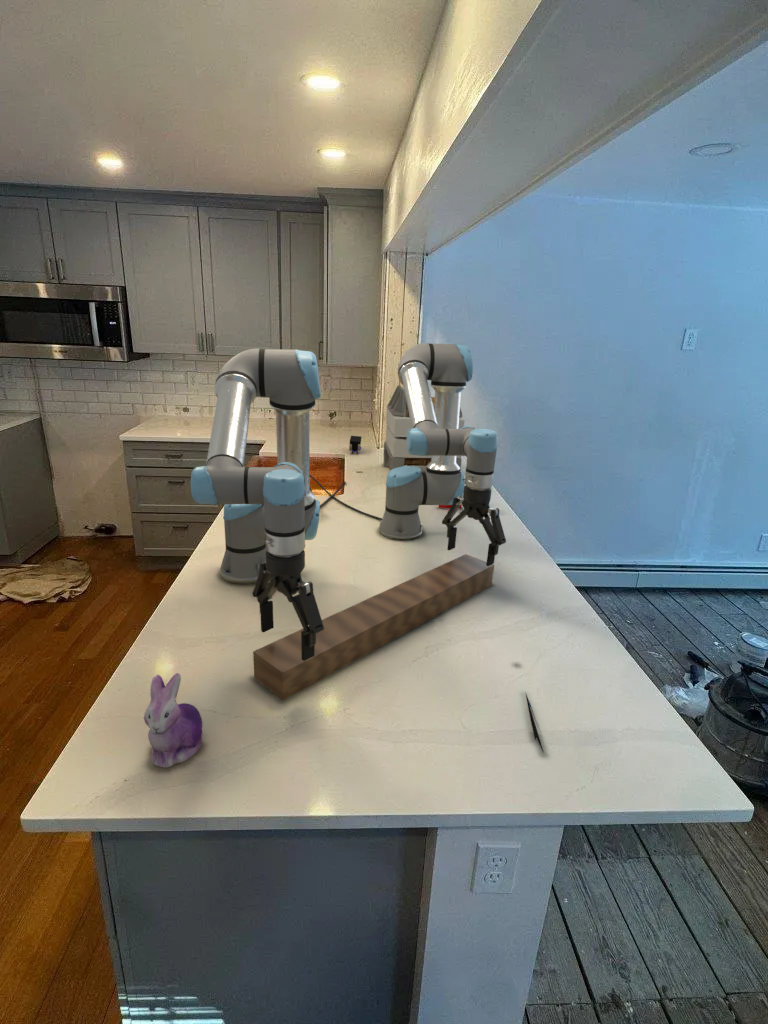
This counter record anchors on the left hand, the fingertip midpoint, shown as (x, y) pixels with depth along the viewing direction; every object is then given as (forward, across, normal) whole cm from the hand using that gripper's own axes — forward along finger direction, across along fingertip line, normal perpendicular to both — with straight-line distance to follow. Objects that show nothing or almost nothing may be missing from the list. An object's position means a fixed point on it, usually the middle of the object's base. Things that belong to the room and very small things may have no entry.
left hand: (287, 643), depth 117 cm
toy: (+12, -53, +124) cm, 135 cm away
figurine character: (+13, -135, +150) cm, 202 cm away
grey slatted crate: (+12, -85, +145) cm, 169 cm away
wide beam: (+9, 0, +32) cm, 34 cm away
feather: (+8, +40, +30) cm, 51 cm away
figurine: (+8, +3, -27) cm, 28 cm away
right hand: (+1, 0, +65) cm, 65 cm away
